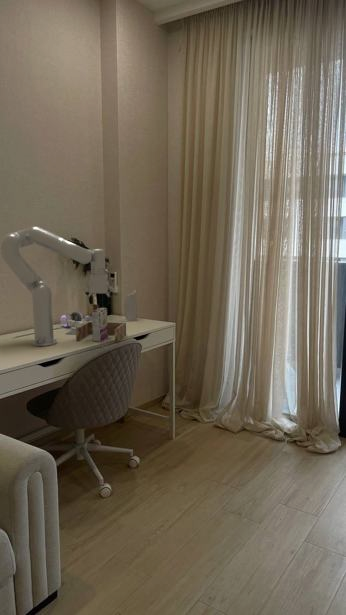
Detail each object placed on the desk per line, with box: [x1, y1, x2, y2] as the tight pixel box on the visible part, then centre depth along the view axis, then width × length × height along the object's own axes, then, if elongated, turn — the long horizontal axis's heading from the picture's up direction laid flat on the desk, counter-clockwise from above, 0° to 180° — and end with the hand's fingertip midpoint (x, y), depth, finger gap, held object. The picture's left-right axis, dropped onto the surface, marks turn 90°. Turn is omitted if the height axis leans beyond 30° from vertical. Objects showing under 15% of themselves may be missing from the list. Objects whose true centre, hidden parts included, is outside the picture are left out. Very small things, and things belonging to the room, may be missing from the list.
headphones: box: [60, 311, 92, 329], centre depth 281 cm, size 22×8×22 cm
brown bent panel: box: [75, 321, 127, 343], centre depth 248 cm, size 19×22×7 cm
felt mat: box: [65, 328, 76, 336], centre depth 264 cm, size 12×8×1 cm, turn 171°
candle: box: [115, 290, 138, 322], centre depth 299 cm, size 7×14×20 cm, turn 84°
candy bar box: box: [91, 307, 109, 342], centre depth 245 cm, size 11×5×16 cm, turn 168°
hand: (100, 304), depth 243 cm, fingers open, 9 cm apart
